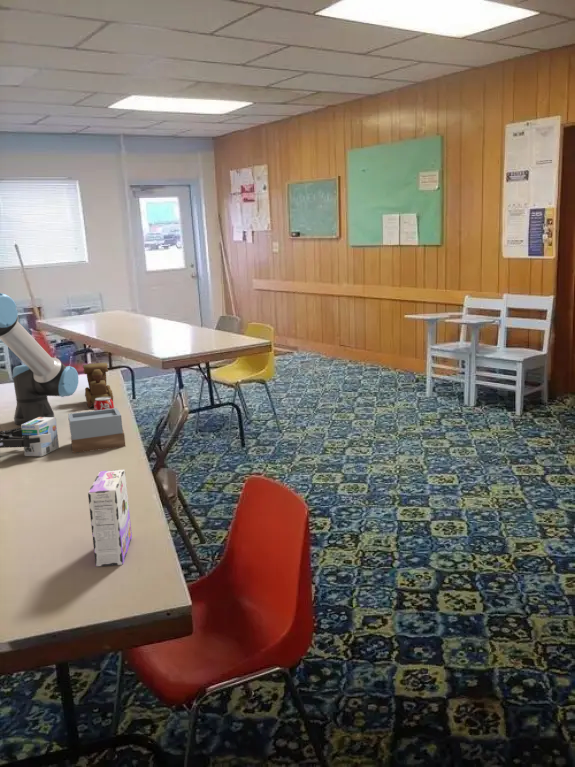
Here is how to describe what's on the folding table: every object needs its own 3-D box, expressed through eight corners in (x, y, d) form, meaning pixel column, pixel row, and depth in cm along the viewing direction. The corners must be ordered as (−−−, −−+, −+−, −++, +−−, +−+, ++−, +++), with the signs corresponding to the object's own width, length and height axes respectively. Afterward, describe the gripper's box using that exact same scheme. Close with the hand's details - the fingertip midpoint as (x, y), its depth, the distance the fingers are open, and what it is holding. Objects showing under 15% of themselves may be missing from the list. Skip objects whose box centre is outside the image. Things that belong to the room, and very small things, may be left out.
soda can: (120, 428, 257) (116, 396, 255) (107, 433, 251) (104, 400, 248) (105, 426, 260) (101, 395, 258) (92, 431, 254) (88, 399, 251)
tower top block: (70, 431, 238) (68, 413, 236) (118, 425, 243) (117, 408, 242) (71, 439, 226) (69, 421, 225) (122, 433, 231) (121, 415, 230)
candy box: (106, 540, 156) (98, 470, 152) (132, 538, 156) (125, 468, 153) (94, 567, 142) (86, 491, 139) (123, 565, 142) (115, 489, 139)
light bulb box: (42, 456, 224) (38, 424, 222) (23, 456, 226) (19, 424, 224) (60, 447, 235) (56, 416, 233) (42, 447, 236) (38, 416, 234)
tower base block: (72, 444, 239) (70, 430, 238) (122, 438, 244) (121, 424, 243) (72, 454, 227) (71, 440, 226) (125, 447, 232) (124, 433, 231)
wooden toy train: (85, 400, 310) (81, 364, 307) (111, 398, 313) (107, 361, 310) (87, 409, 291) (83, 371, 288) (115, 406, 295) (111, 368, 292)
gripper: (-14, 443, 236) (52, 435, 242) (-22, 463, 213) (52, 453, 219) (-17, 422, 234) (50, 414, 241) (-25, 439, 212) (49, 430, 218)
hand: (51, 433), depth 230 cm, fingers closed on light bulb box, 12 cm apart
